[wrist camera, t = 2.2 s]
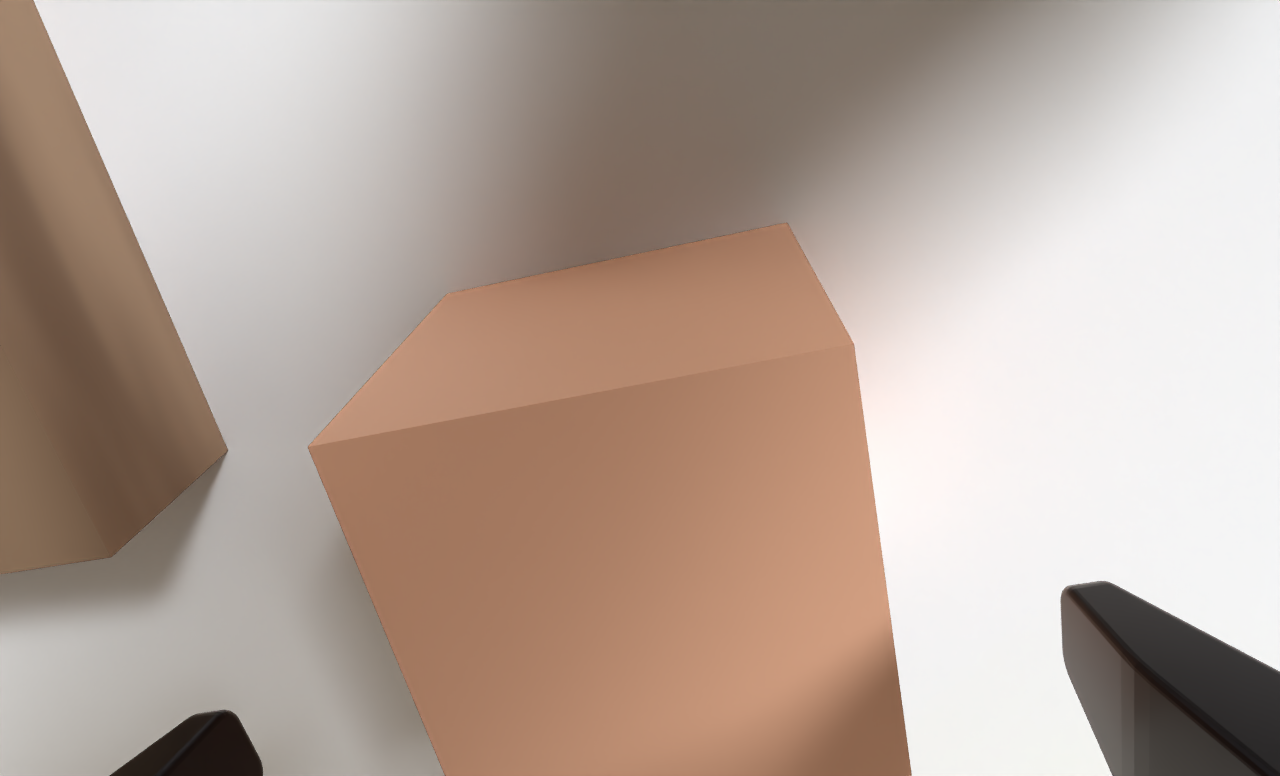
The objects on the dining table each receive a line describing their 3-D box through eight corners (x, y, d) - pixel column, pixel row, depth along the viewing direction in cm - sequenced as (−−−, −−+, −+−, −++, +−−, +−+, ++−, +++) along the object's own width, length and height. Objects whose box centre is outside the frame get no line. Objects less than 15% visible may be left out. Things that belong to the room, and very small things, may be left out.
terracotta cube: (786, 221, 14) (853, 343, 8) (834, 523, 16) (911, 776, 11) (448, 292, 15) (307, 446, 9) (537, 571, 17) (468, 829, 11)
